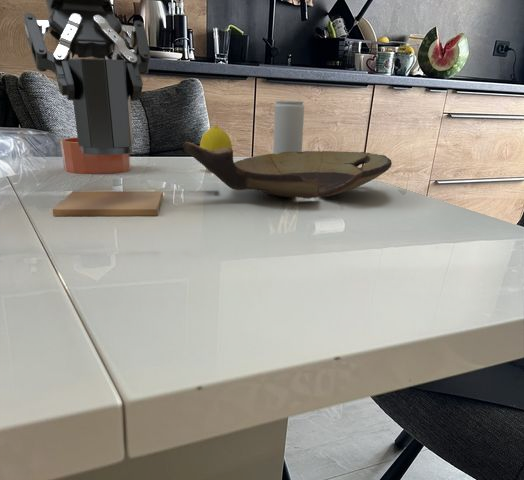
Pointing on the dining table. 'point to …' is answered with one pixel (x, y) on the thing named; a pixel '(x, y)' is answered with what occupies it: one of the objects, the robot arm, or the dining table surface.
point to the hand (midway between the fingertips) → (104, 94)
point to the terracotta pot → (91, 160)
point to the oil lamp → (293, 170)
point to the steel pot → (102, 106)
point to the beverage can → (288, 126)
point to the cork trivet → (110, 203)
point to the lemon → (215, 139)
